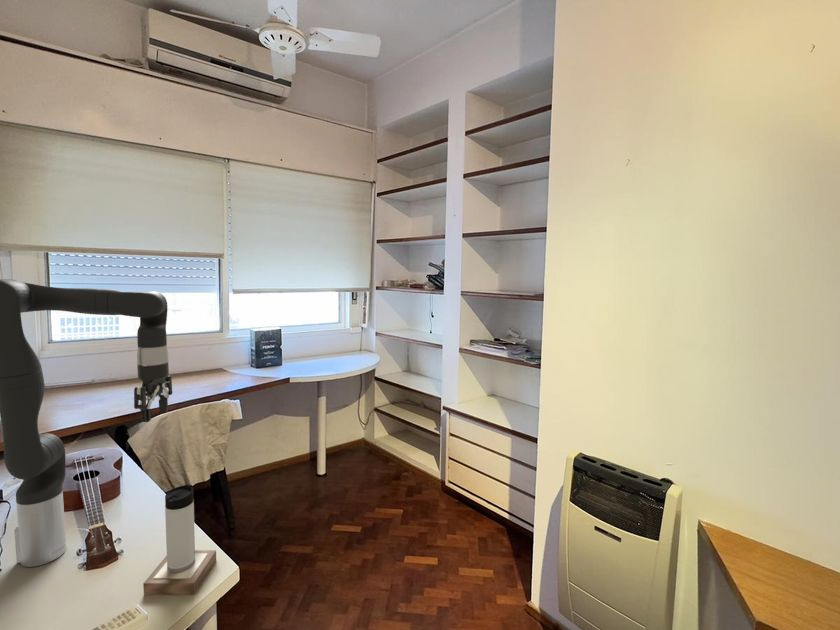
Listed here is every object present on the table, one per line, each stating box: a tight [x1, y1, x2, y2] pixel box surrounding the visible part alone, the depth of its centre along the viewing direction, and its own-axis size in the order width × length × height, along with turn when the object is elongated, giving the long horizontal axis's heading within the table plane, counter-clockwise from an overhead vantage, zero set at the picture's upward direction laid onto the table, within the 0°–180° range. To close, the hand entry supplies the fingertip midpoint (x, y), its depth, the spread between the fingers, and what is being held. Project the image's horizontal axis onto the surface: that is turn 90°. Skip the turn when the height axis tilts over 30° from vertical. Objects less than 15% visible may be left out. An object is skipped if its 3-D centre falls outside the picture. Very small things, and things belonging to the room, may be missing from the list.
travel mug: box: [164, 483, 196, 573], centre depth 106 cm, size 6×7×20 cm
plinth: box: [142, 549, 217, 596], centre depth 107 cm, size 12×12×3 cm
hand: (155, 416), depth 121 cm, fingers open, 8 cm apart
